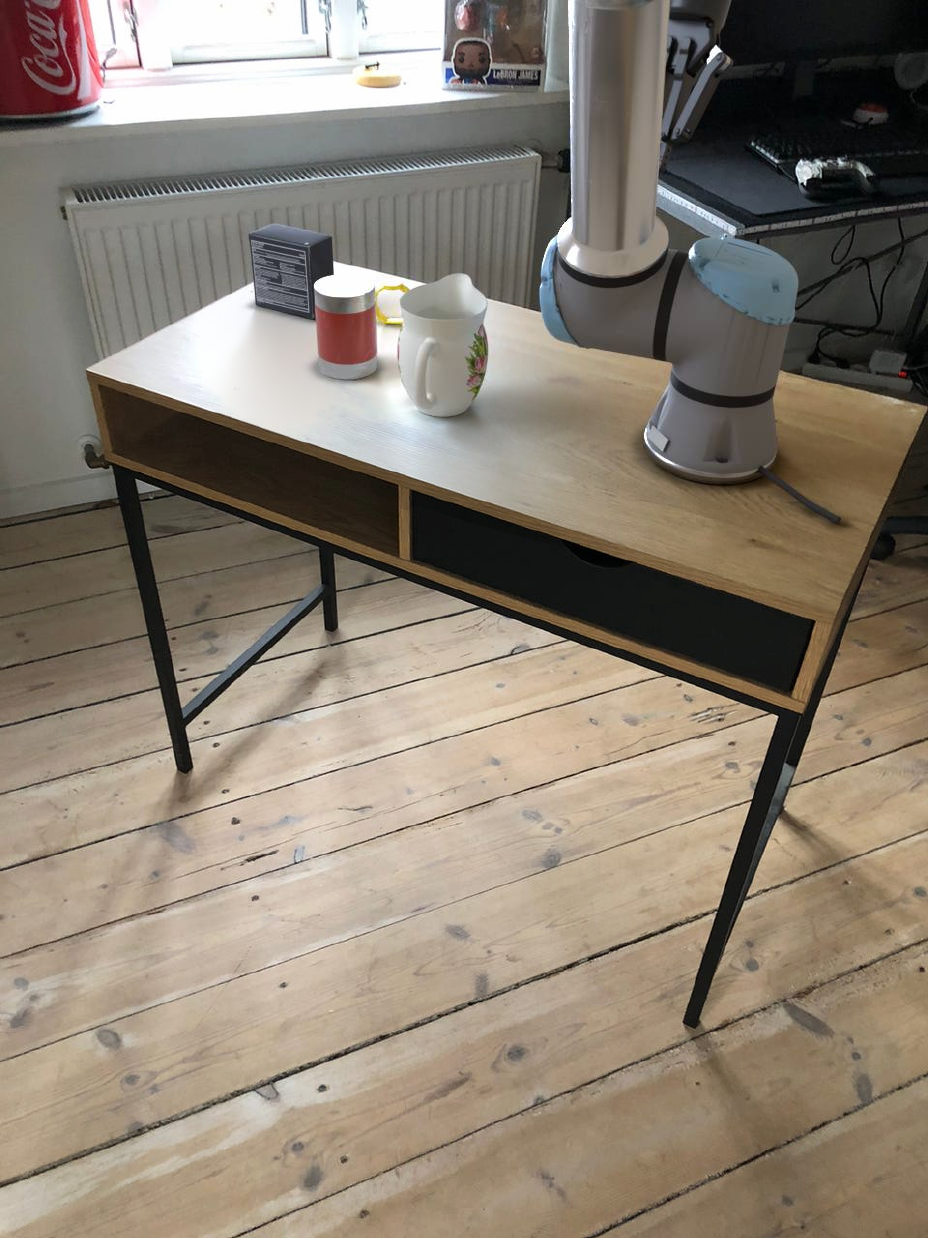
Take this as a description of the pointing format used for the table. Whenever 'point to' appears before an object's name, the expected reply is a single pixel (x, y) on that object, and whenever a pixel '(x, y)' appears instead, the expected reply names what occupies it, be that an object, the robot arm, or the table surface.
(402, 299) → the pitcher
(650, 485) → the table surface
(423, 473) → the table surface
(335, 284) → the tin can
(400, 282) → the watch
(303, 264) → the small box
